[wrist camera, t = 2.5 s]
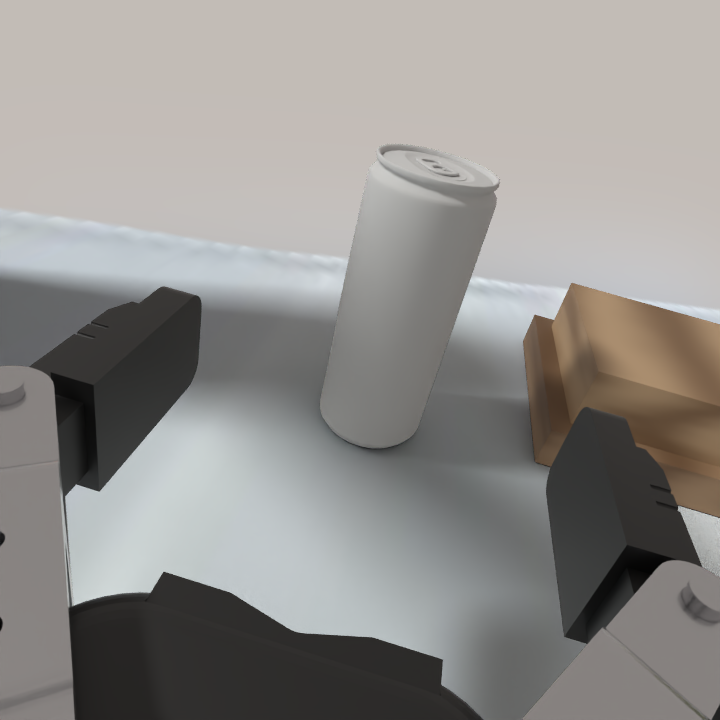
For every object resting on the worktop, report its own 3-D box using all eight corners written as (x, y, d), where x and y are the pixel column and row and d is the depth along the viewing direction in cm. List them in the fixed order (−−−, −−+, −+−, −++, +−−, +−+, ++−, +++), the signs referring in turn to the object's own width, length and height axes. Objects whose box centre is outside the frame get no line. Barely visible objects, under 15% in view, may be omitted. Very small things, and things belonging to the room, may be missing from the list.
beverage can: (338, 462, 24) (412, 182, 17) (301, 392, 27) (352, 136, 21) (434, 447, 26) (531, 192, 20) (388, 384, 29) (458, 150, 23)
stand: (535, 461, 27) (579, 376, 24) (523, 341, 37) (553, 271, 34) (789, 538, 26) (864, 459, 23) (706, 393, 36) (751, 327, 33)
